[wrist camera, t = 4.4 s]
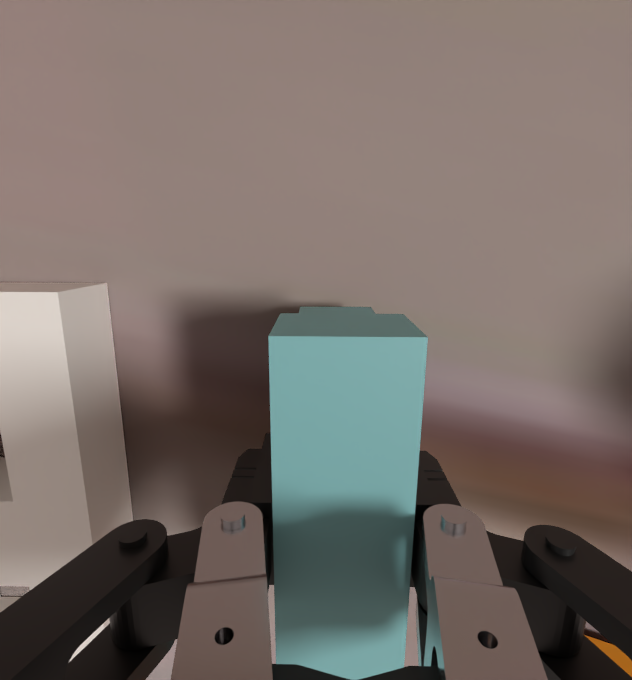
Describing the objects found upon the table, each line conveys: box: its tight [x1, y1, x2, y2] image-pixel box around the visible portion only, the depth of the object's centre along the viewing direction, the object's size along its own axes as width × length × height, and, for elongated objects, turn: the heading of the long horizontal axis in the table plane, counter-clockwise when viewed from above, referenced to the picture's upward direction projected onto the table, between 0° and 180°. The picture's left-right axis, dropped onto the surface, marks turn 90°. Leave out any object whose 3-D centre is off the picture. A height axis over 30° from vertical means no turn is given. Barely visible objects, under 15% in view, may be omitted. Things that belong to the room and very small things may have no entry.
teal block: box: [268, 307, 428, 680], centre depth 12 cm, size 10×3×6 cm, turn 0°
